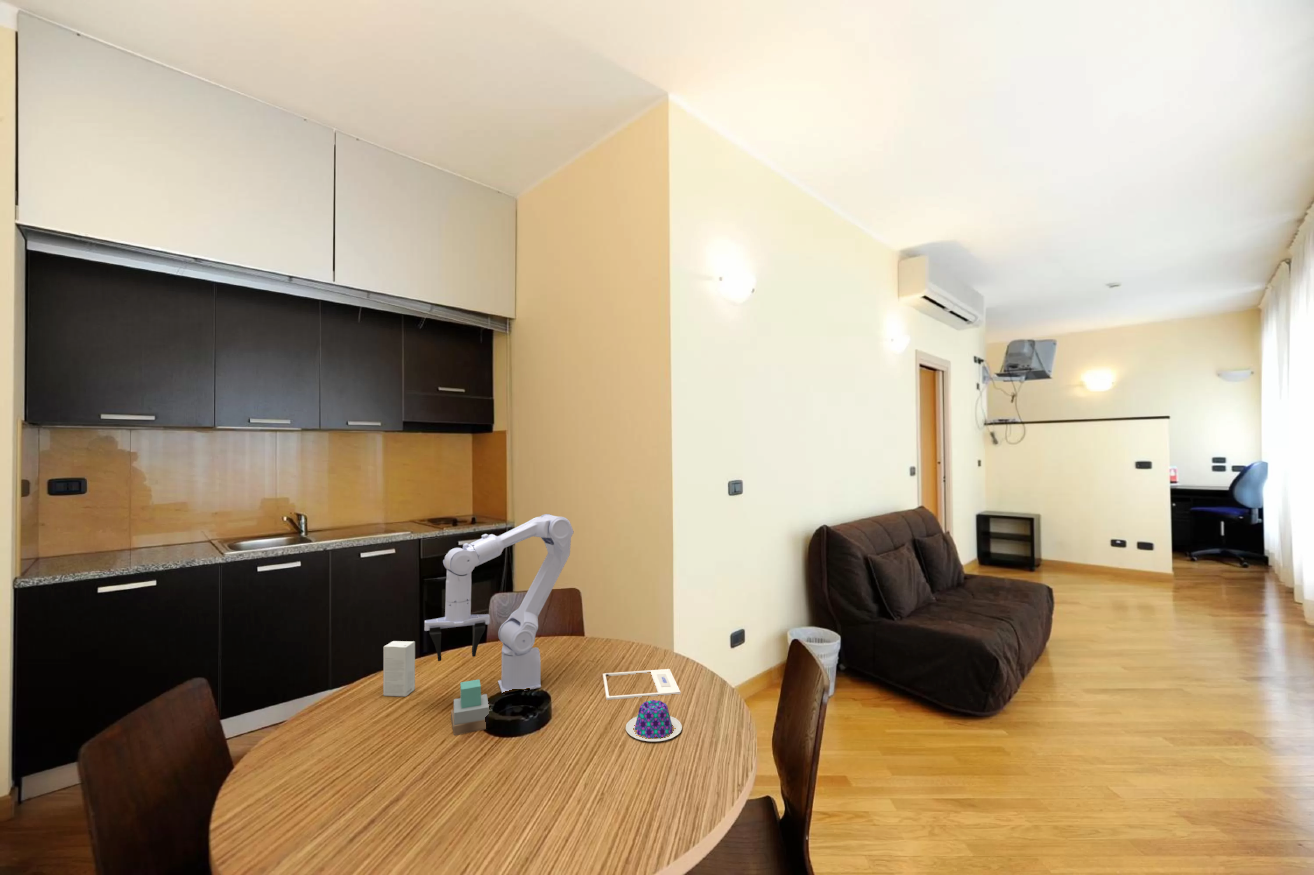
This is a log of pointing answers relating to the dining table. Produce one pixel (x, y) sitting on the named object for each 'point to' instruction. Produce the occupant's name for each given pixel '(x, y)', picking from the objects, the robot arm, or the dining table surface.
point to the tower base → (467, 726)
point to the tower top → (470, 711)
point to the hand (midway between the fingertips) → (456, 657)
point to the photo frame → (661, 679)
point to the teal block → (470, 693)
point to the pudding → (653, 722)
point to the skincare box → (399, 668)
